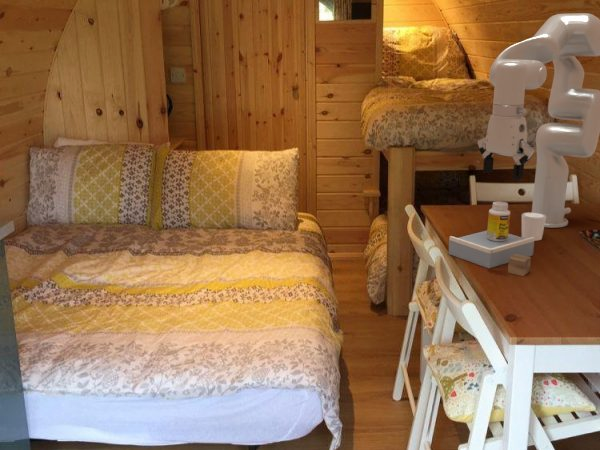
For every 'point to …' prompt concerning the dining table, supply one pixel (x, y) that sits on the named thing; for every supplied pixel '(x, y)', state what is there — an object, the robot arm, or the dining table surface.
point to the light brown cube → (519, 265)
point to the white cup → (533, 225)
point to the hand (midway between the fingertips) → (502, 175)
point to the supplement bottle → (498, 222)
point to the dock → (489, 248)
